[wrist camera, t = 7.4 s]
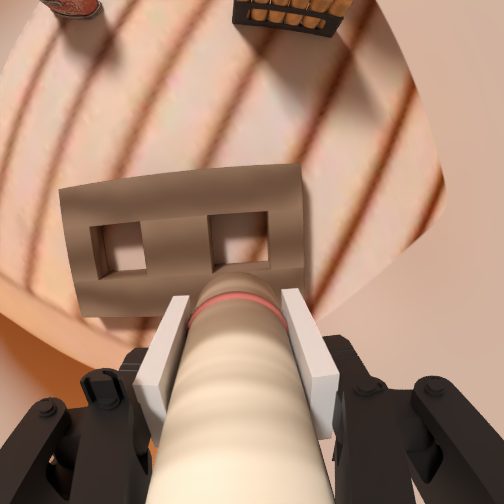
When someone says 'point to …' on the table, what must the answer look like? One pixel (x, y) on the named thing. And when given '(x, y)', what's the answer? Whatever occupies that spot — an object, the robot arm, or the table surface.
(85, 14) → the lighter
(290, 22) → the ammunition clip
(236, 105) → the table surface
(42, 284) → the table surface
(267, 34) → the table surface
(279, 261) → the walnut board
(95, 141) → the table surface
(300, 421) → the birch dowel
